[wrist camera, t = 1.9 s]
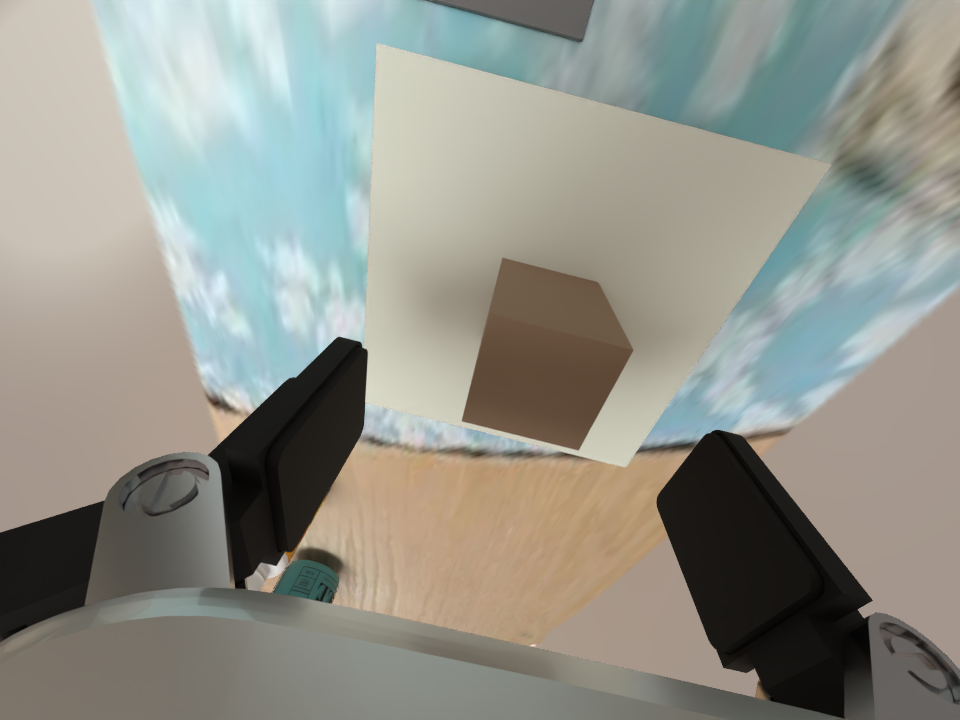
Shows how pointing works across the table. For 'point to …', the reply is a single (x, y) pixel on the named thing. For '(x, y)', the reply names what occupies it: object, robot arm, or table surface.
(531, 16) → the mat
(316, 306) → the table surface
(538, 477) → the table surface
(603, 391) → the lid
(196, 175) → the table surface
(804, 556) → the robot arm
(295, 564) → the beverage bottle
